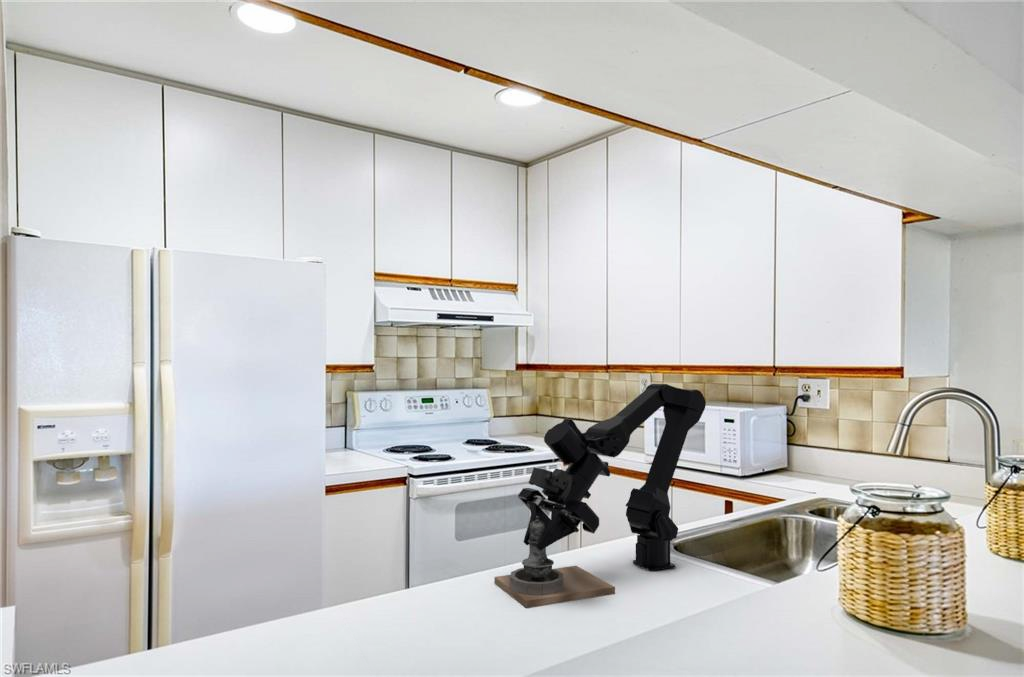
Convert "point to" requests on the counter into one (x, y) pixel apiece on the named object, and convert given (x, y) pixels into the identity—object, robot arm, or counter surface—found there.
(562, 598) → the board
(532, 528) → the salt shaker
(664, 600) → the counter surface
